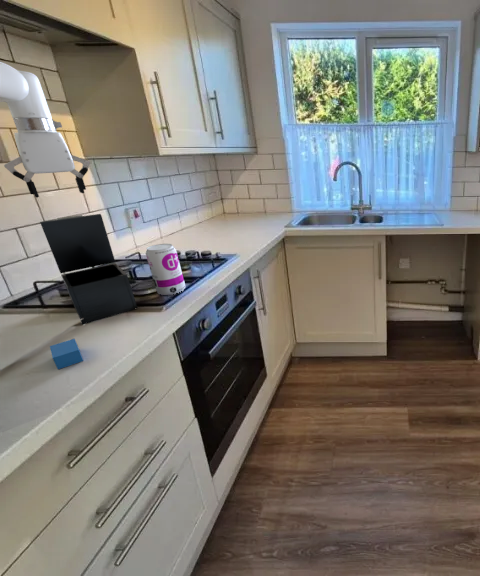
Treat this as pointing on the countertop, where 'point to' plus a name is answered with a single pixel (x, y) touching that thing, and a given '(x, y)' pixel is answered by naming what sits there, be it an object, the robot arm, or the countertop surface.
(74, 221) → the bin lid
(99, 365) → the countertop surface
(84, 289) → the bin
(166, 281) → the supplement can
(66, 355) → the blue rectangular block
